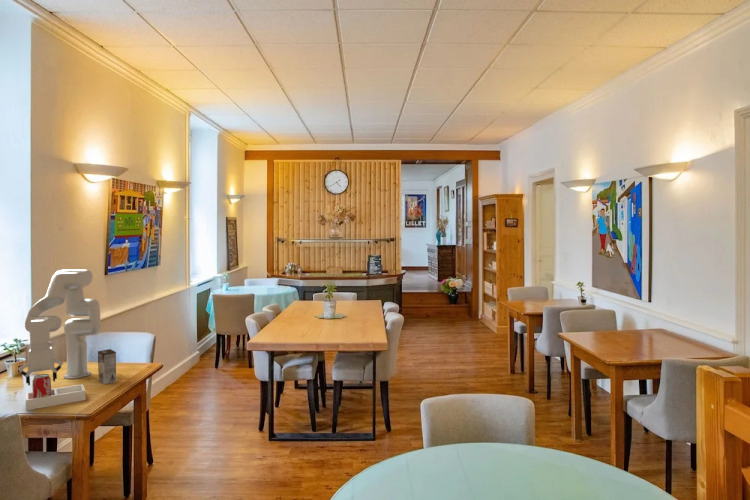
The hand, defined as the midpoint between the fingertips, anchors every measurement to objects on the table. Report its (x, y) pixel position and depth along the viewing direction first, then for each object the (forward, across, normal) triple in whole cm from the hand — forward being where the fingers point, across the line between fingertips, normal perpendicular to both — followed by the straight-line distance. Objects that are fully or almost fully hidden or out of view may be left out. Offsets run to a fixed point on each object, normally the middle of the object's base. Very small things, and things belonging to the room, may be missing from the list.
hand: (41, 382), depth 228 cm
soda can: (+9, 0, +1) cm, 9 cm away
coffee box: (+11, -29, -19) cm, 37 cm away
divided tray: (+10, -5, +1) cm, 11 cm away
